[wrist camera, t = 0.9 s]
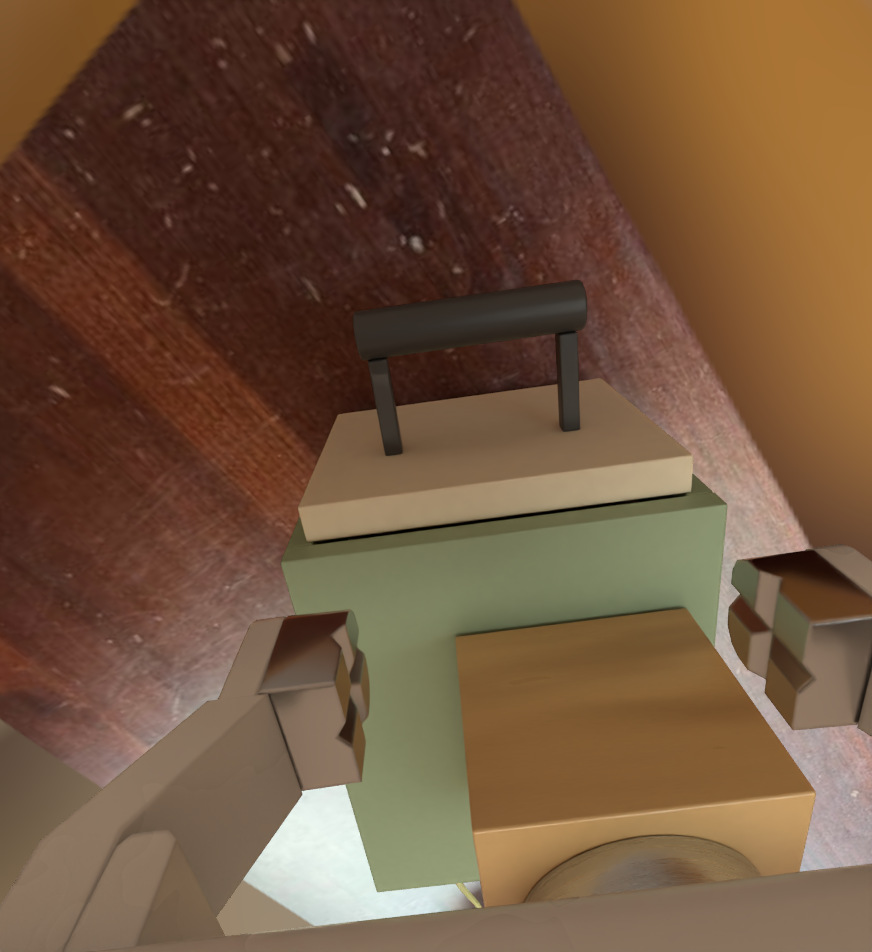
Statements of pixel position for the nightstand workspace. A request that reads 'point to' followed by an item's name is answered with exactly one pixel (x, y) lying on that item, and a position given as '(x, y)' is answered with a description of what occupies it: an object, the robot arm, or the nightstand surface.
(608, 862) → the tin
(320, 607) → the cabinet
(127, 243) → the nightstand surface
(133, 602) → the nightstand surface
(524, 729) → the riser
